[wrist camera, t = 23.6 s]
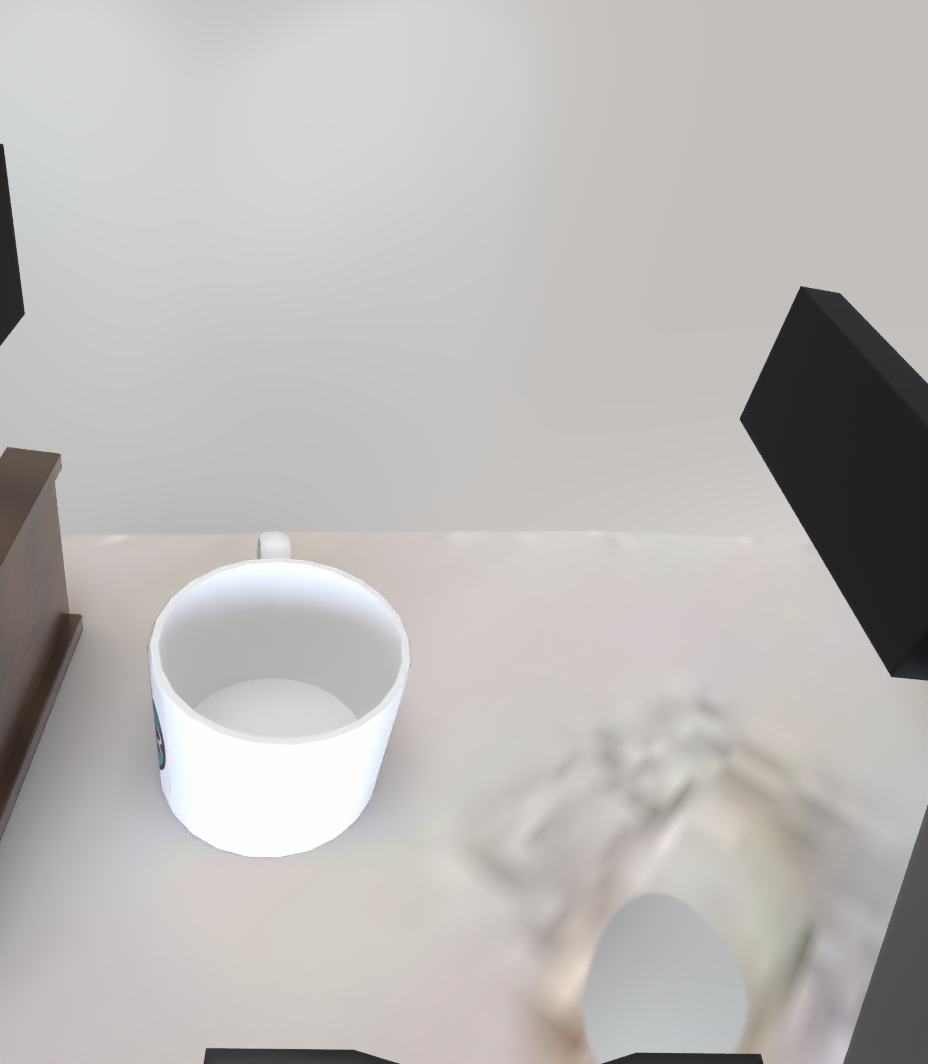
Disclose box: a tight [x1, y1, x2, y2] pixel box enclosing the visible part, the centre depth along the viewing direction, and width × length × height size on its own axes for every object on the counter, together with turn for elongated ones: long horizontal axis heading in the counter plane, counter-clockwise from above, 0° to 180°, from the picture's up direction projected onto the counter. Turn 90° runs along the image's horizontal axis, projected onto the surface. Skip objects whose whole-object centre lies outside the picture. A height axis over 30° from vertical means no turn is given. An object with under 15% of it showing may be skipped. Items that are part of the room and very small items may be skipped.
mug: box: [147, 531, 411, 857], centre depth 38 cm, size 13×10×8 cm
